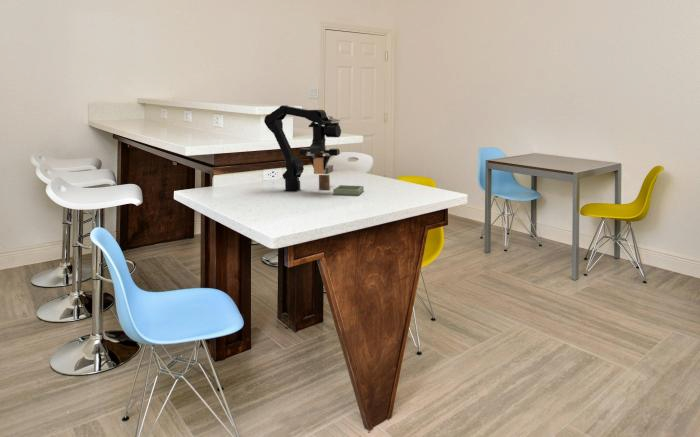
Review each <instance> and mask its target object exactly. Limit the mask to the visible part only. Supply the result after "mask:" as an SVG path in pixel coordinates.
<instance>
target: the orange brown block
mask: <svg viewBox="0 0 700 437" xmlns="http://www.w3.org/2000/svg"><path fill="white" fill-rule="evenodd" d="M313 160H314V168H313V174H314V175H325V174H324V173H326V169H325V170H324V157H315V159H313Z"/></svg>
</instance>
